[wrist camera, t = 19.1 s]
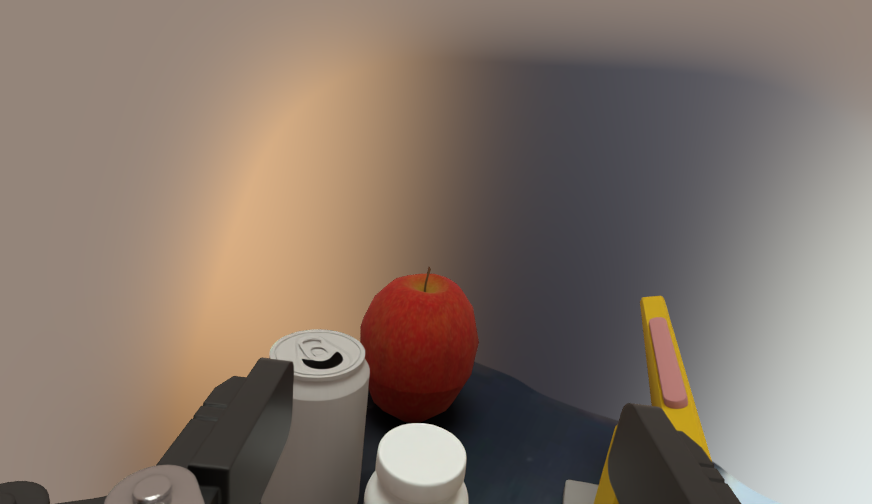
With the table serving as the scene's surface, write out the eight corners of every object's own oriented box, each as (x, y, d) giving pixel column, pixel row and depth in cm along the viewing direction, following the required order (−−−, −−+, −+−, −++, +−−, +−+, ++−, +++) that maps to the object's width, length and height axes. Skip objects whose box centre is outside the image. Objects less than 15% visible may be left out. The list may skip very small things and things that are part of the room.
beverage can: (278, 563, 30) (283, 391, 26) (248, 489, 34) (249, 335, 31) (373, 521, 33) (390, 365, 29) (334, 459, 38) (344, 318, 34)
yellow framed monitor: (714, 789, 22) (851, 515, 17) (538, 710, 24) (614, 444, 19) (666, 481, 40) (725, 304, 35) (568, 450, 42) (611, 279, 37)
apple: (389, 366, 51) (403, 238, 47) (480, 399, 48) (504, 264, 43) (330, 420, 42) (340, 268, 38) (437, 466, 39) (462, 304, 34)
